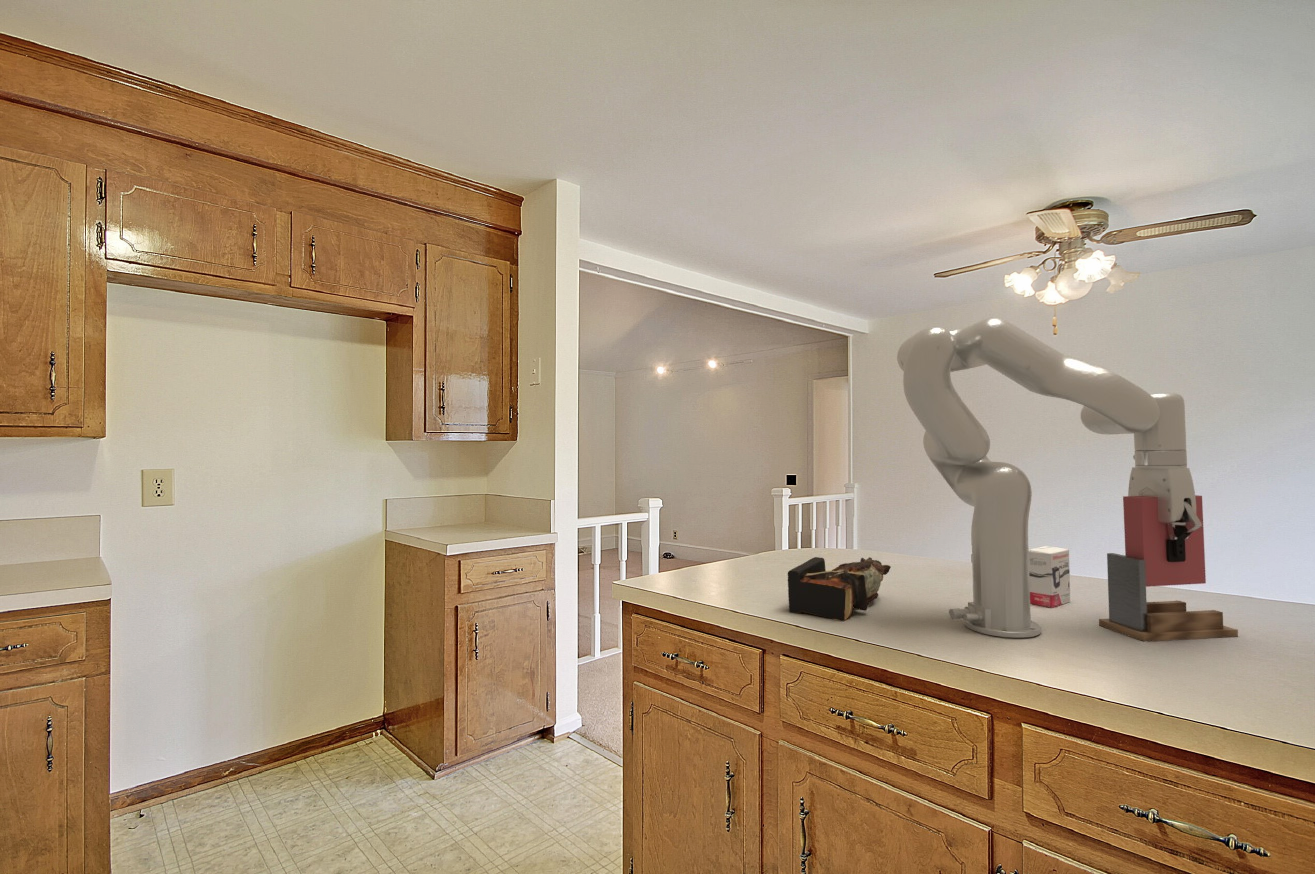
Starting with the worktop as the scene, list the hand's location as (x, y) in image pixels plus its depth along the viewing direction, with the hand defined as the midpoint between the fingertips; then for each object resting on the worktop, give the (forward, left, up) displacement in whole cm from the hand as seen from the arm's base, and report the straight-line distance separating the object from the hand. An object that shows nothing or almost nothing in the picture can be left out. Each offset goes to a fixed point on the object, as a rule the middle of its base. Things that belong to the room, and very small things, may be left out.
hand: (1164, 558), depth 115 cm
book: (0, 0, -4) cm, 4 cm away
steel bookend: (-8, 0, -13) cm, 15 cm away
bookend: (-50, +28, -14) cm, 60 cm away
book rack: (0, 0, -13) cm, 13 cm away
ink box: (-6, +22, -14) cm, 27 cm away
